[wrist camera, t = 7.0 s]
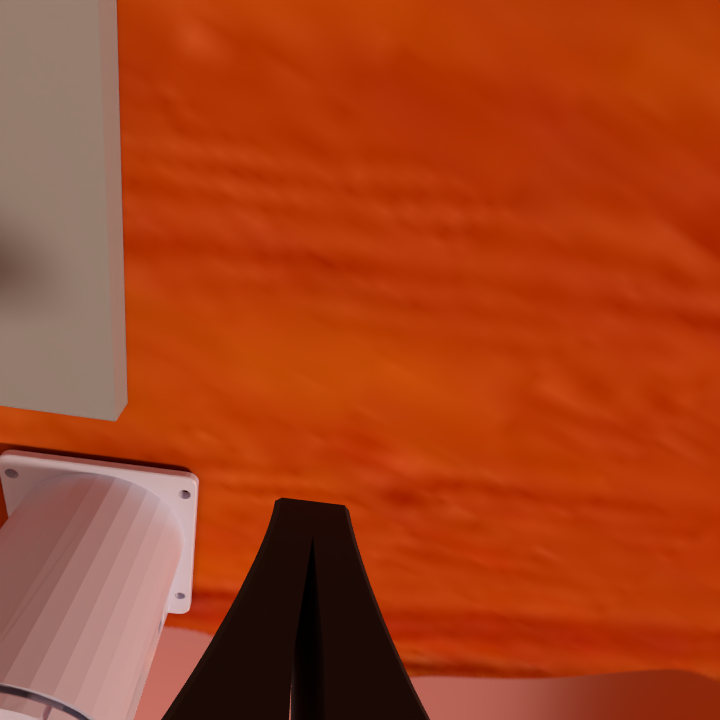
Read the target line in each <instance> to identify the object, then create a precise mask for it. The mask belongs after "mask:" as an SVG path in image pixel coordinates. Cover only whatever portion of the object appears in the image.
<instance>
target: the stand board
mask: <svg viewBox="0 0 720 720" xmlns="http://www.w3.org/2000/svg"><path fill="white" fill-rule="evenodd" d="M126 405H127V369H126V332H125V295H124V259H123V222H122V185H121V149H120V112H119V76H118V39H117V2H116V0H0V406H7V407H15V408H22V409H29V410H36V411H44V412H51V413H58V414H66V415H73V416H80V417H88V418H95V419H102V420H109V421H116V420H117V419H118V417H119V415H120V414H121V412H122V411H123V409H124V408H125V406H126Z"/></svg>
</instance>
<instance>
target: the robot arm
mask: <svg viewBox="0 0 720 720" xmlns="http://www.w3.org/2000/svg"><path fill="white" fill-rule="evenodd" d="M12 469H13V470H12ZM14 470H15V471H14ZM0 477H1V482H2V487H3V493H4V498H5V503H6V508H7V513H8V520H7V521H6V522H5V524H4V525H3V526H2V528H1V529H0V720H133V719H134V716H135V713H136V710H137V707H138V704H139V701H140V697H141V694H142V691H143V688H144V685H145V682H146V679H147V676H148V672H149V669H150V666H151V663H152V660H153V657H154V654H155V651H156V648H157V645H158V641H159V638H160V635H161V632H162V629H163V626H164V623H165V620H166V616H167V613H178V614H183V613H186V612H187V611H189V608H190V605H191V596H192V580H193V565H194V549H195V533H196V517H197V501H198V485H199V481H198V478H197V477H196V475H194V474H193V473H190V472H185V471H177V470H169V469H161V468H153V467H146V466H138V465H130V464H122V463H114V462H106V461H98V460H90V459H82V458H75V457H67V456H59V455H51V454H43V453H35V452H27V451H19V450H6V451H4V452H3V453H2V455H1V456H0ZM182 490H186V491H188V492H184V491H182ZM290 693H291V720H430V719H429V717H428V715H427V713H426V711H425V709H424V707H423V706H422V703H421V701H420V699H419V697H418V695H417V693H416V691H415V690H414V687H413V685H412V683H411V681H410V678H409V676H408V674H407V672H406V670H405V668H404V666H403V663H402V661H401V659H400V657H399V654H398V652H397V650H396V648H395V645H394V643H393V641H392V639H391V636H390V634H389V631H388V629H387V626H386V624H385V622H384V619H383V617H382V614H381V611H380V609H379V606H378V603H377V601H376V598H375V596H374V593H373V590H372V588H371V585H370V582H369V579H368V577H367V574H366V571H365V568H364V565H363V562H362V558H361V555H360V552H359V549H358V545H357V542H356V539H355V535H354V531H353V527H352V523H351V519H350V514H349V510H348V509H347V508H346V506H345V505H338V504H330V503H322V502H314V501H305V500H297V499H289V498H280V499H278V500H276V501H275V504H274V509H273V513H272V517H271V520H270V523H269V526H268V529H267V532H266V534H265V537H264V539H263V542H262V544H261V546H260V549H259V551H258V553H257V556H256V558H255V560H254V562H253V564H252V566H251V568H250V570H249V572H248V574H247V577H246V579H245V581H244V583H243V585H242V587H241V589H240V591H239V593H238V595H237V597H236V598H235V600H234V602H233V604H232V606H231V608H230V609H229V611H228V613H227V615H226V616H225V618H224V620H223V622H222V623H221V625H220V627H219V629H218V630H217V632H216V634H215V636H214V637H213V639H212V641H211V643H210V644H209V646H208V648H207V649H206V651H205V653H204V654H203V656H202V658H201V659H200V661H199V662H198V664H197V666H196V667H195V669H194V671H193V672H192V674H191V675H190V677H189V678H188V680H187V682H186V683H185V685H184V686H183V688H182V689H181V691H180V692H179V694H178V695H177V697H176V698H175V700H174V701H173V703H172V704H171V706H170V707H169V709H168V711H167V712H166V713H165V715H164V716H163V718H162V719H161V720H289V709H290Z"/></svg>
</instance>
